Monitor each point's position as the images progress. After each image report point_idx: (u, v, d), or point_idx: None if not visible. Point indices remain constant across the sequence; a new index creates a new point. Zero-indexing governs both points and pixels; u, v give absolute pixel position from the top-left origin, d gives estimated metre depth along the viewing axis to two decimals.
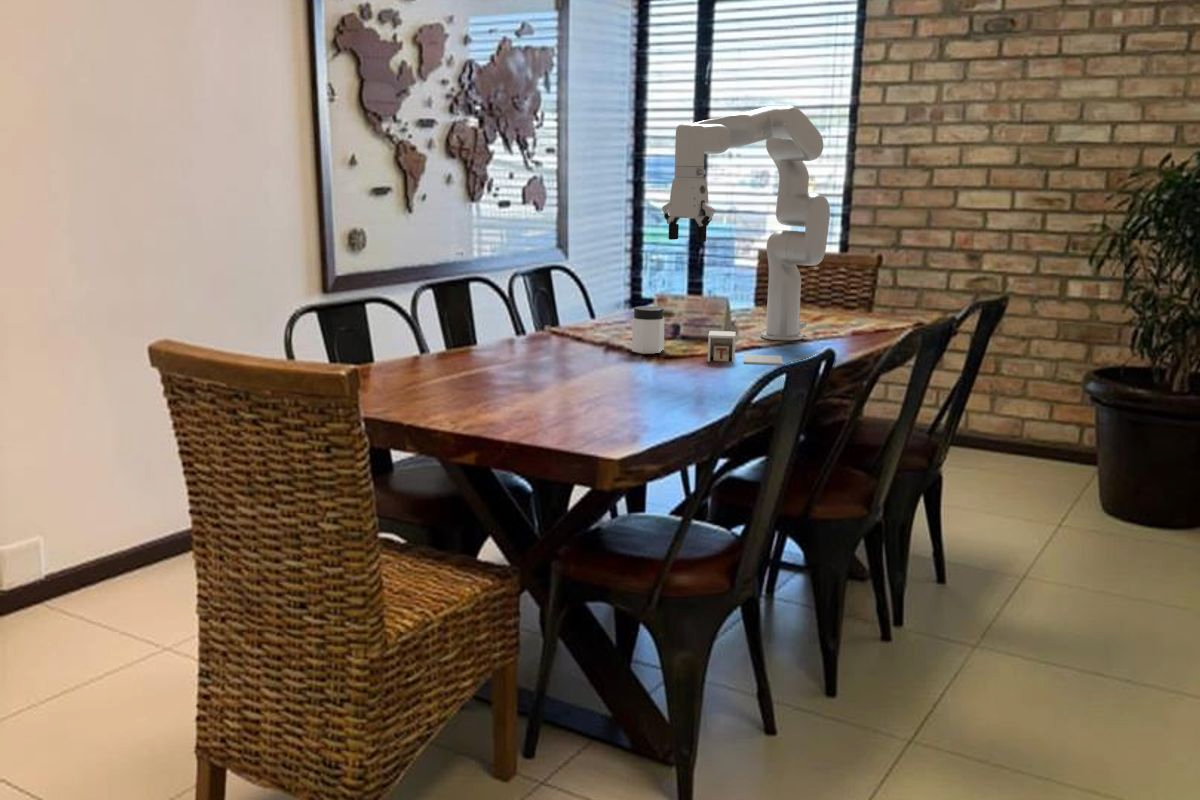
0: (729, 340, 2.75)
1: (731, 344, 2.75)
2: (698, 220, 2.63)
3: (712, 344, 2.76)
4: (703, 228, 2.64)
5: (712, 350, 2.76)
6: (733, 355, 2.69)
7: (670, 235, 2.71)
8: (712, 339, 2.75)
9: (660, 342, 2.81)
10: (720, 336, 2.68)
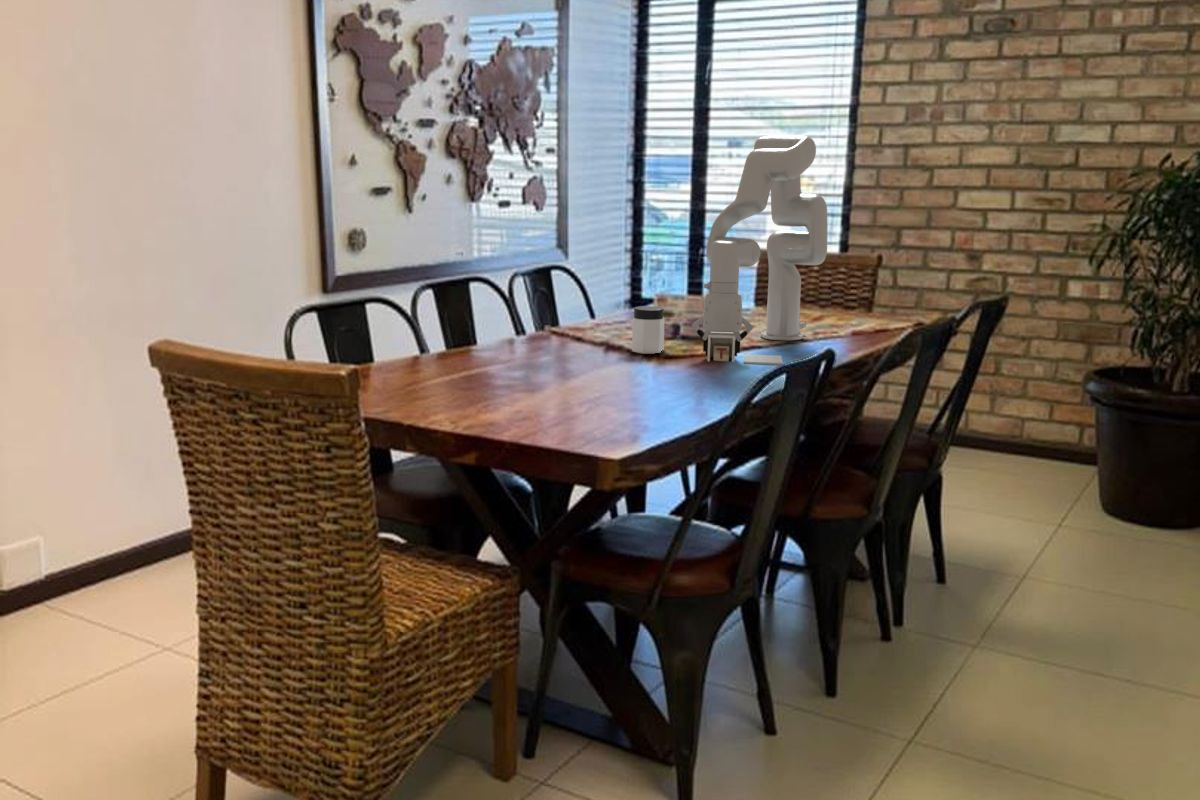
0: (729, 340, 2.75)
1: (731, 344, 2.75)
2: None
3: (712, 344, 2.76)
4: None
5: (712, 350, 2.76)
6: (733, 355, 2.69)
7: None
8: (712, 339, 2.75)
9: (660, 342, 2.81)
10: (720, 336, 2.68)
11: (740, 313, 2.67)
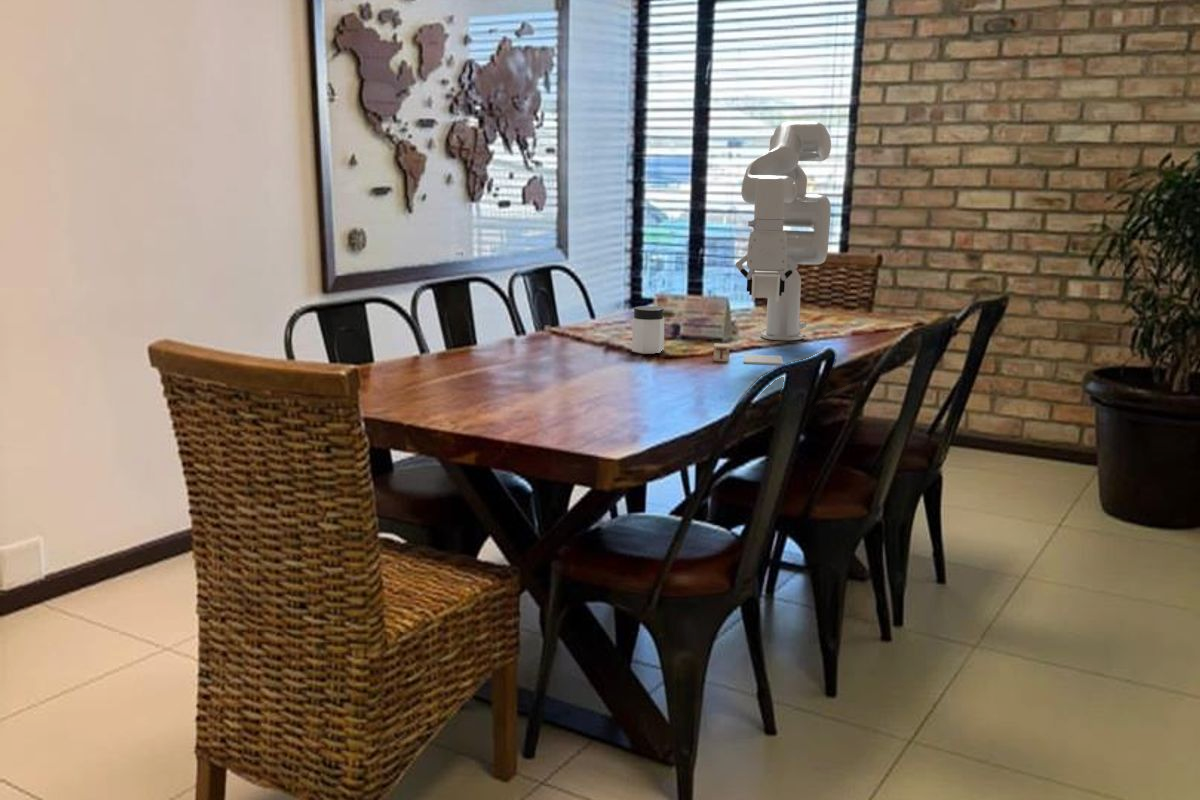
0: (773, 280, 2.70)
1: (775, 284, 2.70)
2: None
3: (755, 284, 2.71)
4: None
5: (755, 290, 2.71)
6: (778, 294, 2.64)
7: None
8: (755, 279, 2.71)
9: (660, 342, 2.81)
10: (764, 275, 2.64)
11: (785, 251, 2.63)
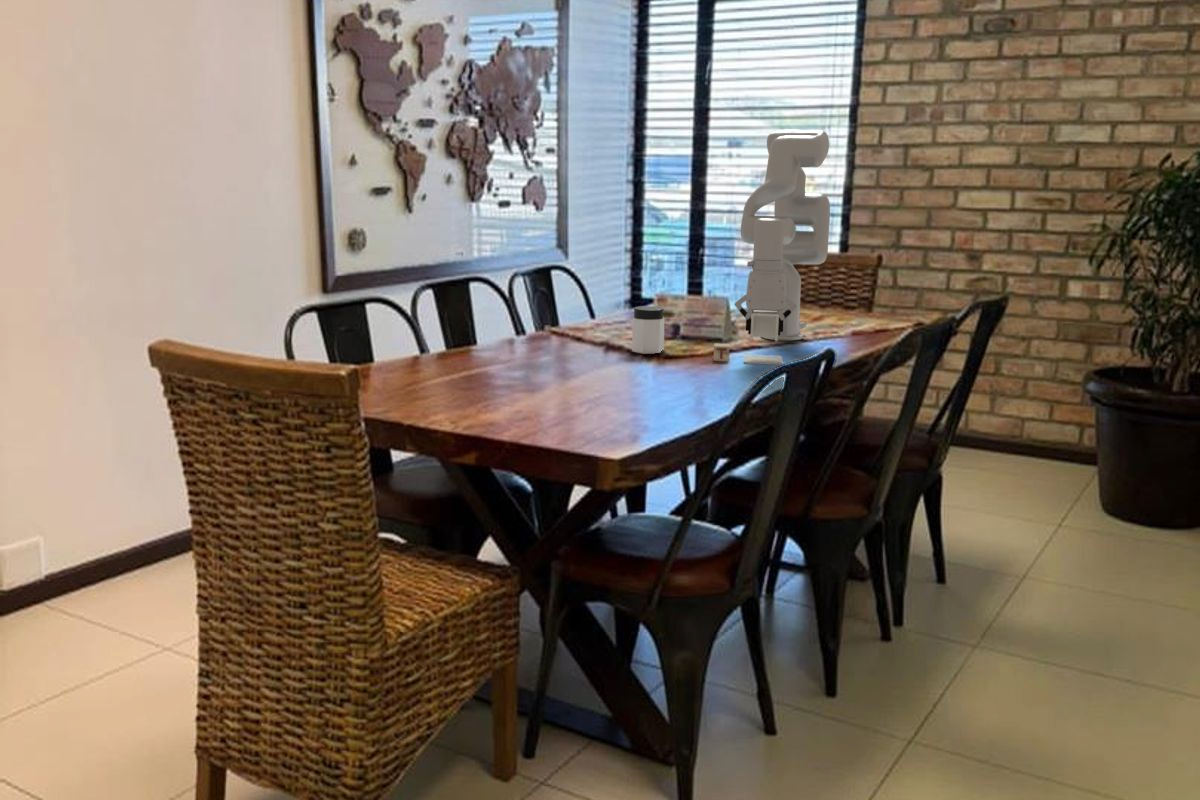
0: (772, 319, 2.72)
1: (774, 323, 2.72)
2: None
3: (754, 323, 2.73)
4: None
5: (754, 329, 2.73)
6: (776, 334, 2.66)
7: None
8: (754, 318, 2.73)
9: (660, 342, 2.81)
10: (763, 314, 2.66)
11: (784, 291, 2.65)
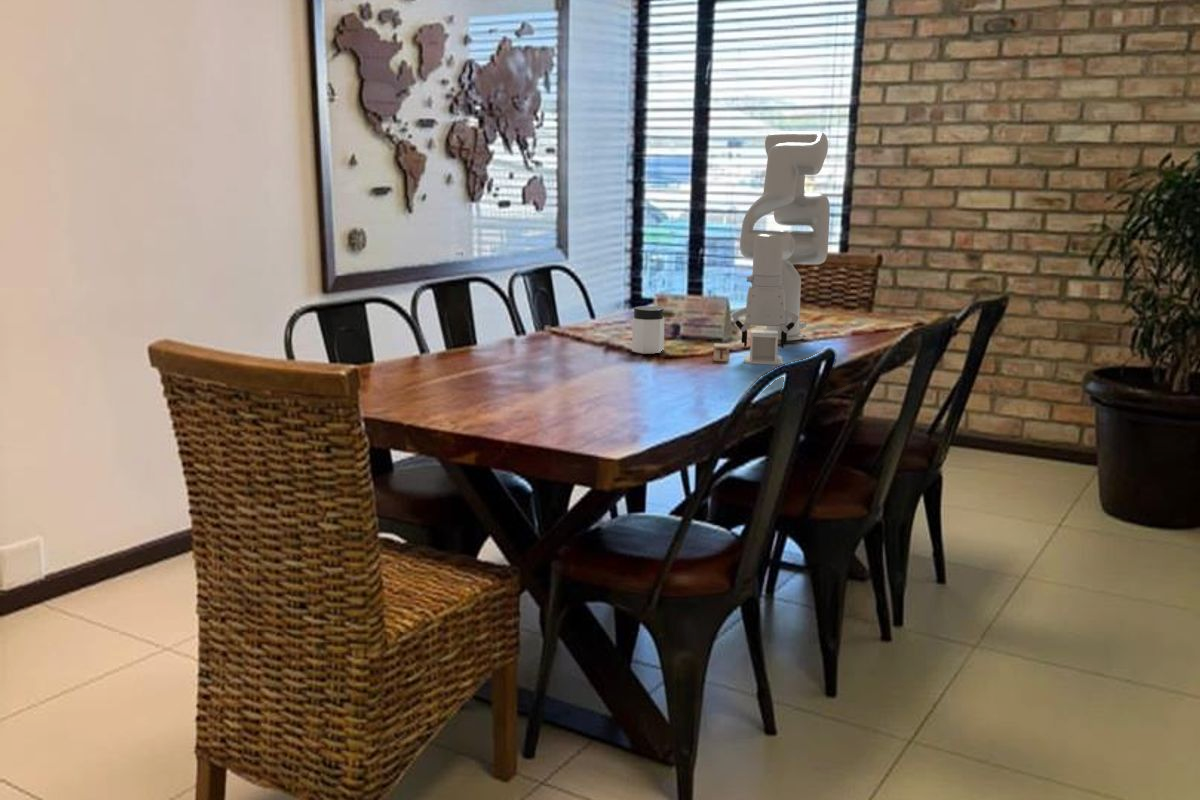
0: (771, 339, 2.73)
1: (773, 343, 2.74)
2: None
3: (754, 343, 2.74)
4: None
5: (754, 349, 2.75)
6: (776, 354, 2.68)
7: None
8: (754, 338, 2.74)
9: (660, 342, 2.81)
10: (763, 335, 2.67)
11: (783, 307, 2.66)
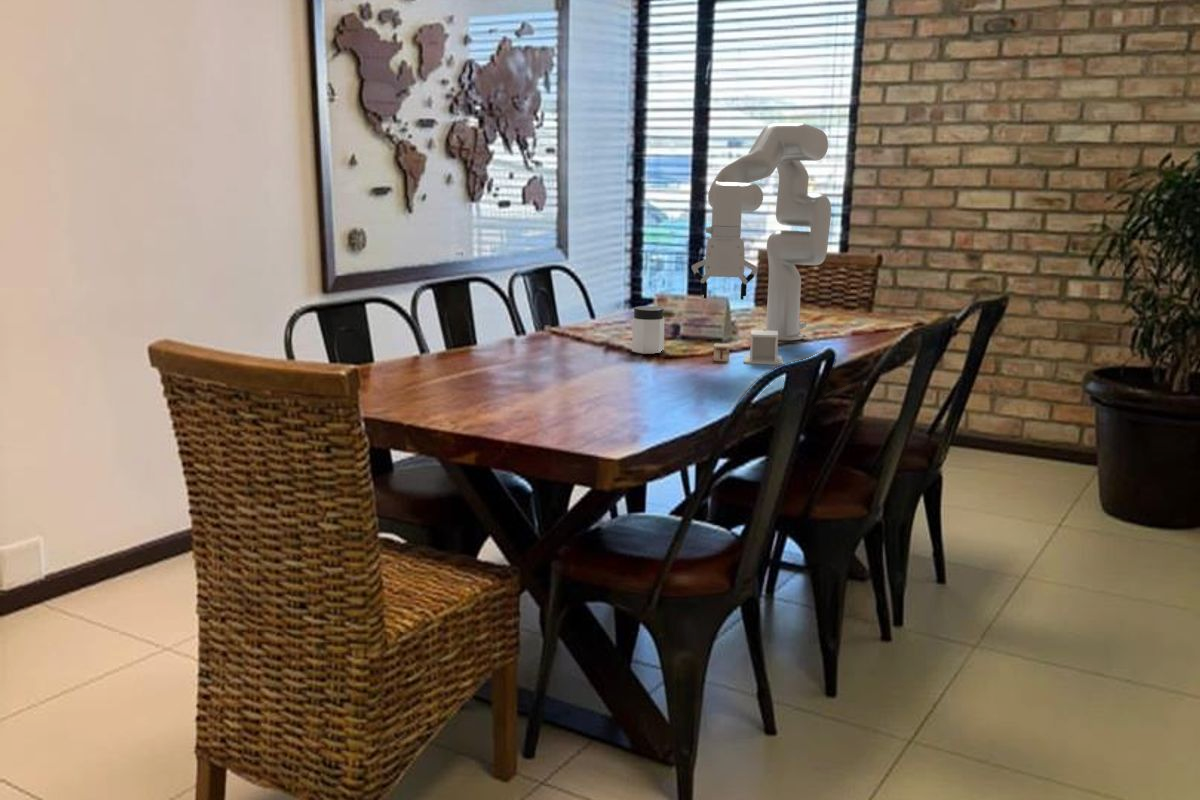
0: (771, 339, 2.73)
1: (773, 343, 2.74)
2: None
3: (754, 343, 2.74)
4: None
5: (754, 349, 2.75)
6: (776, 354, 2.68)
7: None
8: (754, 338, 2.74)
9: (660, 342, 2.81)
10: (763, 335, 2.67)
11: (742, 257, 2.64)
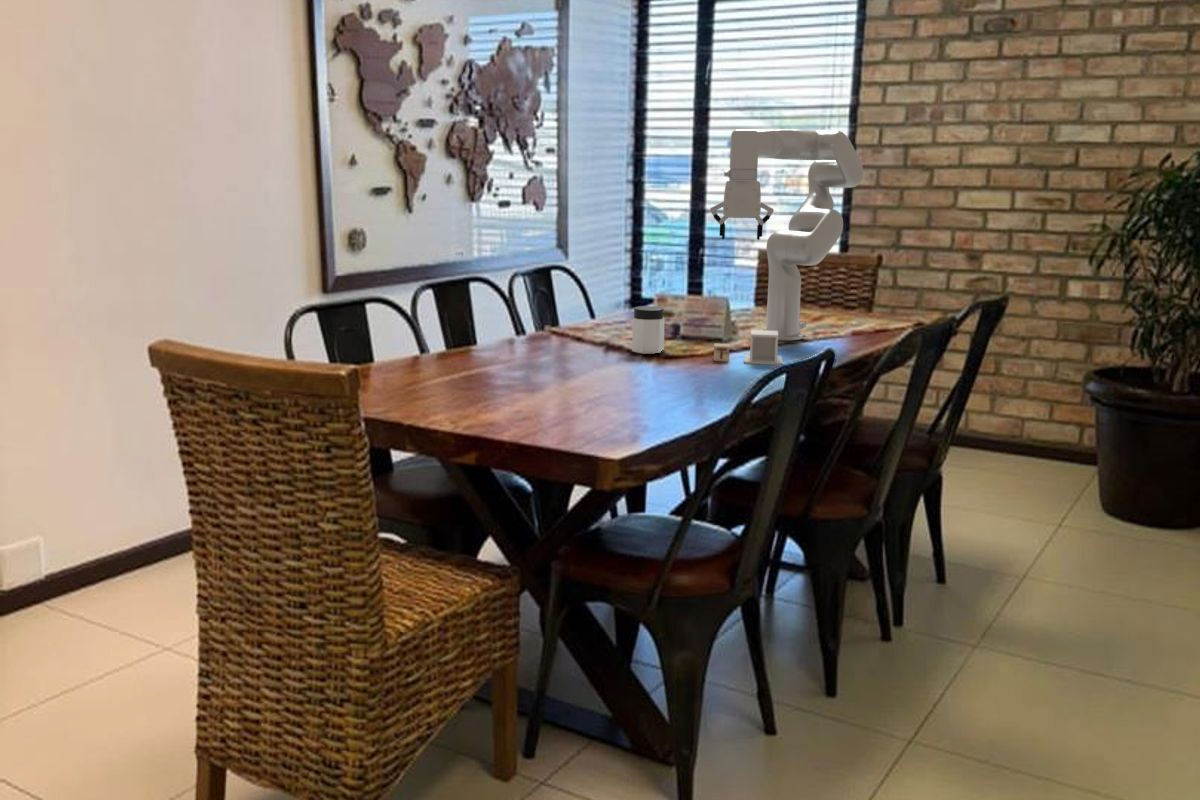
0: (771, 339, 2.73)
1: (773, 343, 2.74)
2: None
3: (754, 343, 2.74)
4: None
5: (754, 349, 2.75)
6: (776, 354, 2.68)
7: None
8: (754, 338, 2.74)
9: (660, 342, 2.81)
10: (763, 335, 2.67)
11: (759, 199, 2.79)
